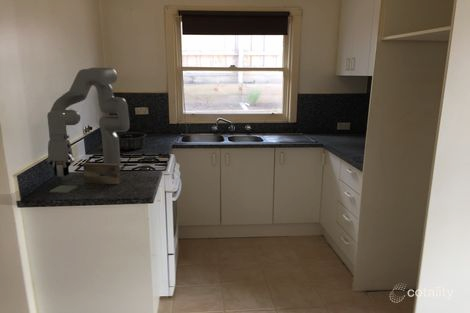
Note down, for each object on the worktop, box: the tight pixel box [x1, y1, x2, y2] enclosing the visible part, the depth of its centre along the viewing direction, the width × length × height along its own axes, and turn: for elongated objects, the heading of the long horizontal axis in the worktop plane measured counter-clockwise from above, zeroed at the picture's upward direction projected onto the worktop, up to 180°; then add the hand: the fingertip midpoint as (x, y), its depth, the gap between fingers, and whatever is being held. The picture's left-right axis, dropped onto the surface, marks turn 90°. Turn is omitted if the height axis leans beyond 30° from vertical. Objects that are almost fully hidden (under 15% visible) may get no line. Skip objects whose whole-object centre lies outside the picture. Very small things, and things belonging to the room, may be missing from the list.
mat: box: [49, 185, 78, 194], centre depth 178 cm, size 9×9×1 cm
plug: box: [56, 161, 65, 178], centre depth 175 cm, size 4×4×7 cm
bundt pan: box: [116, 132, 147, 151], centre depth 279 cm, size 26×26×10 cm
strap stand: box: [82, 162, 121, 185], centre depth 189 cm, size 3×18×10 cm, turn 83°
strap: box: [100, 168, 115, 176], centre depth 180 cm, size 11×2×1 cm, turn 173°
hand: (61, 174), depth 176 cm, fingers closed on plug, 4 cm apart
